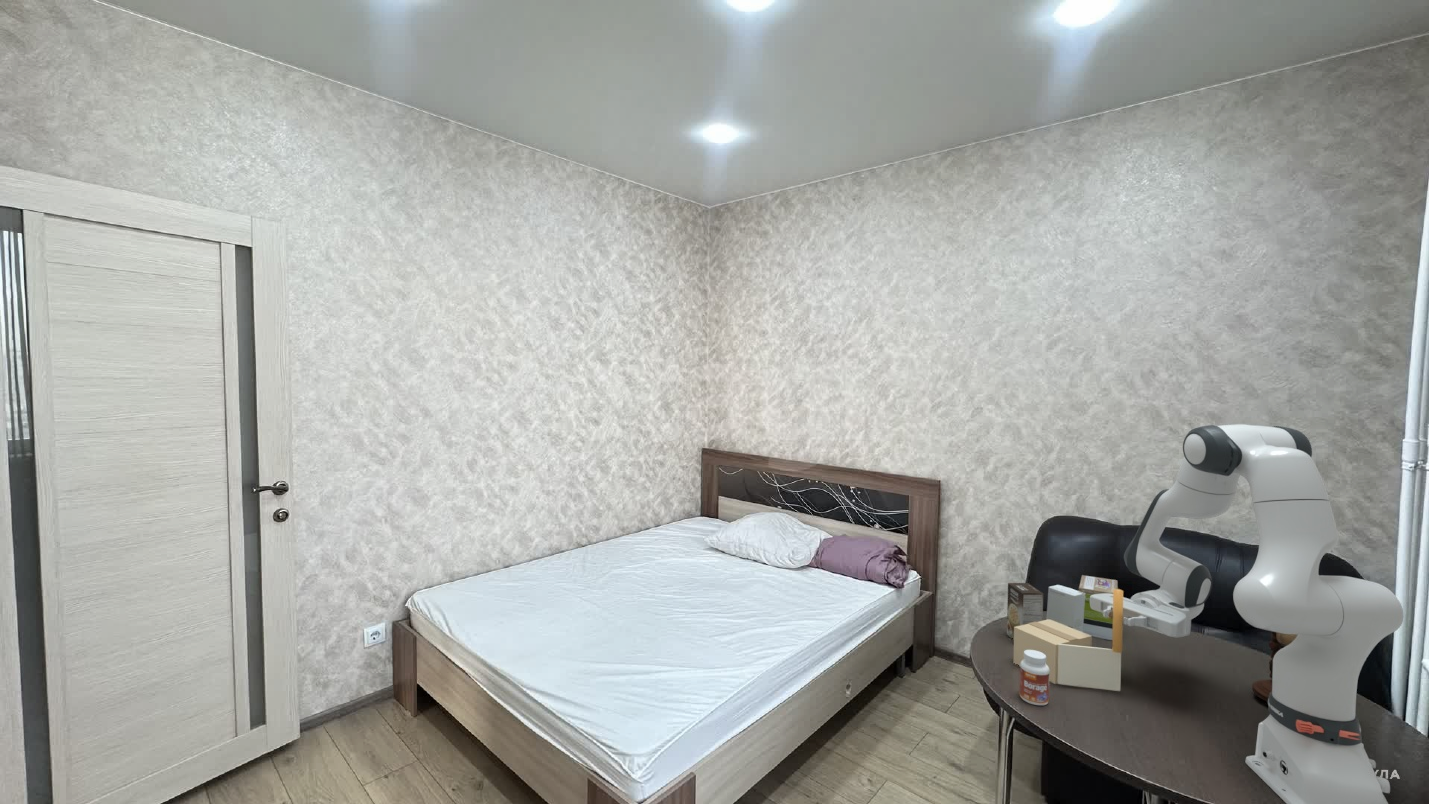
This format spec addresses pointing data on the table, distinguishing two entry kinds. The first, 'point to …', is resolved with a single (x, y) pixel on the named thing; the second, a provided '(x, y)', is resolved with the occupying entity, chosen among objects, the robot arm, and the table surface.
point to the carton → (1047, 642)
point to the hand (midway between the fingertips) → (1116, 618)
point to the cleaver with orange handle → (1094, 658)
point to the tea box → (1092, 618)
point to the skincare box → (1066, 606)
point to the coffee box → (1023, 606)
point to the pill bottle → (1034, 678)
